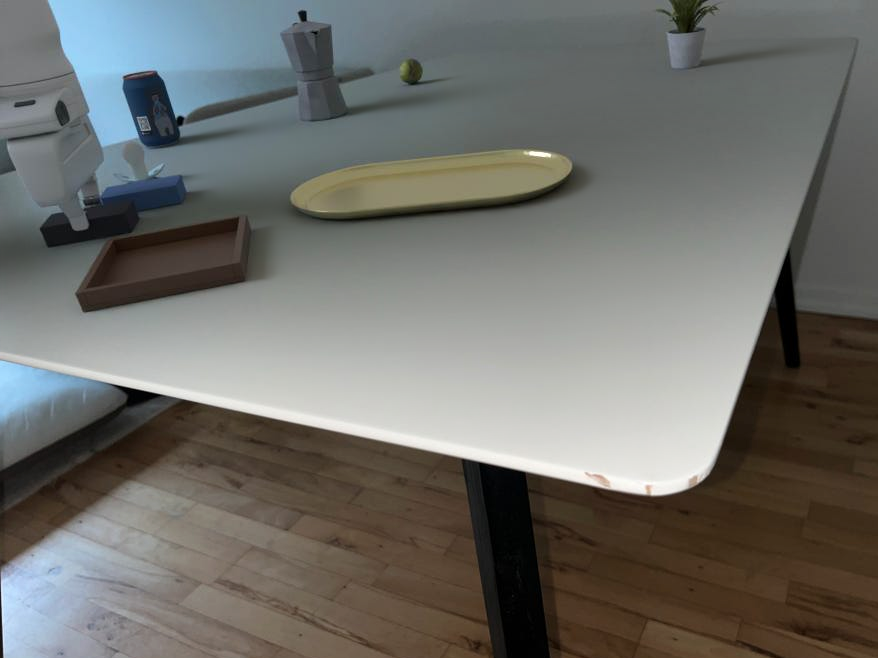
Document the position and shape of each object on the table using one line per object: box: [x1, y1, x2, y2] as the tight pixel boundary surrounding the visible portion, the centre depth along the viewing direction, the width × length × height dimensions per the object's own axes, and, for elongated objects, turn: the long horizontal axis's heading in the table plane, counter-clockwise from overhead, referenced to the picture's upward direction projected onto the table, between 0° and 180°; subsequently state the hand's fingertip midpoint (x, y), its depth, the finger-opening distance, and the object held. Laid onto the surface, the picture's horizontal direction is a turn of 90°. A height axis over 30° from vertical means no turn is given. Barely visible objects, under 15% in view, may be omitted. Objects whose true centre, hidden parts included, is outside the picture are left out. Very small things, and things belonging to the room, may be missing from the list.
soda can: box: [121, 70, 181, 149], centre depth 130 cm, size 7×7×12 cm
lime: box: [398, 58, 424, 85], centre depth 155 cm, size 4×5×5 cm
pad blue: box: [100, 174, 187, 212], centre depth 101 cm, size 10×6×2 cm, turn 103°
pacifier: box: [112, 141, 166, 184], centre depth 108 cm, size 7×6×6 cm
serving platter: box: [289, 148, 574, 220], centre depth 92 cm, size 19×35×2 cm, turn 88°
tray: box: [74, 213, 252, 313], centre depth 79 cm, size 16×16×2 cm
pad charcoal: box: [39, 200, 140, 248], centre depth 92 cm, size 10×6×2 cm, turn 103°
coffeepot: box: [279, 9, 348, 122], centre depth 135 cm, size 15×9×18 cm, turn 26°
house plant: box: [652, 0, 724, 70], centre depth 135 cm, size 14×14×16 cm
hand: (89, 218), depth 92 cm, fingers open, 6 cm apart
